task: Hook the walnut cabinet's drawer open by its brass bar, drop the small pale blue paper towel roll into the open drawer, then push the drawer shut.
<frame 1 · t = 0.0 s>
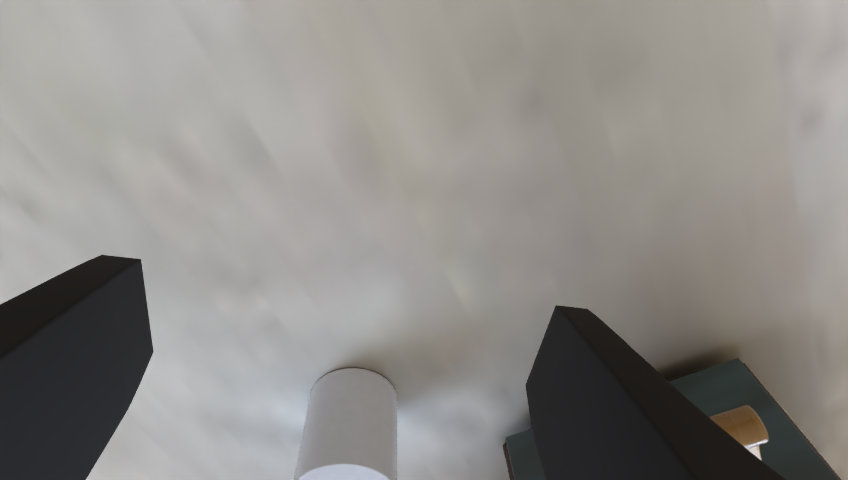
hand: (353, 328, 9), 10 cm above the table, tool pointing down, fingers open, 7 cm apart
paper towel roll: (353, 399, 24), on the table
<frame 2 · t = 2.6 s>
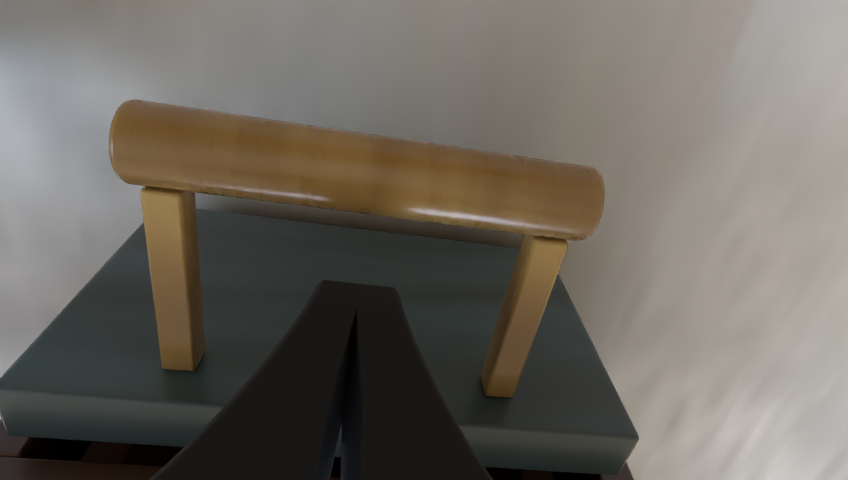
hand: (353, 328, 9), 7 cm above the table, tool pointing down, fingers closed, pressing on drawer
cabinet: (340, 410, 20), on the table
drawer: (339, 422, 14), point 4 cm above the table, slide at 0.4 cm, touching gripper
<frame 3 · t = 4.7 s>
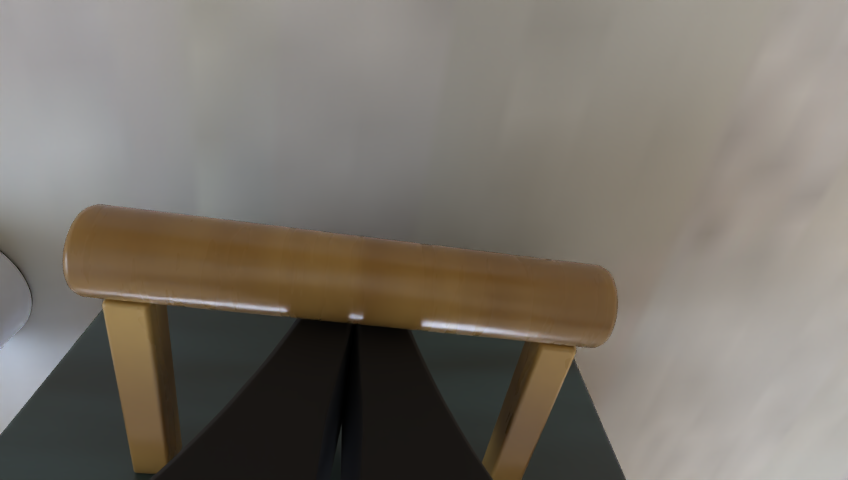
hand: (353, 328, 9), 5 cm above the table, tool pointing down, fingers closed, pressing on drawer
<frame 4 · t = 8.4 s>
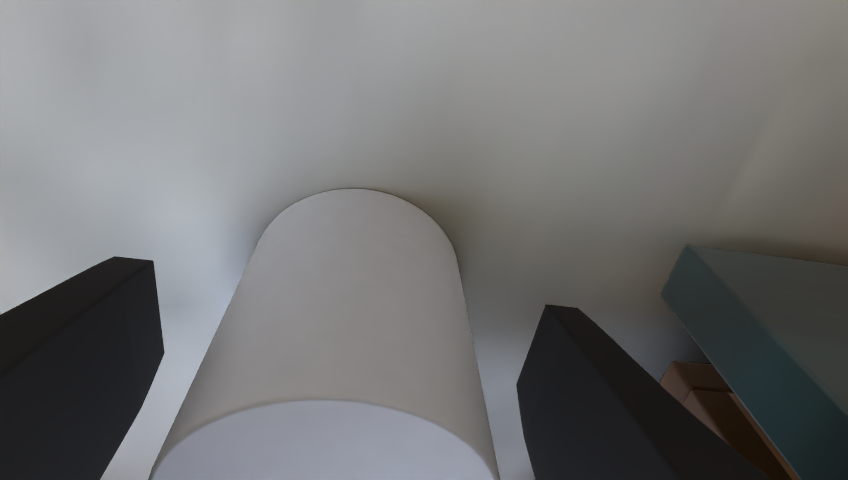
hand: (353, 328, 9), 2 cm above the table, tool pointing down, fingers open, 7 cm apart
paper towel roll: (357, 280, 10), on the table
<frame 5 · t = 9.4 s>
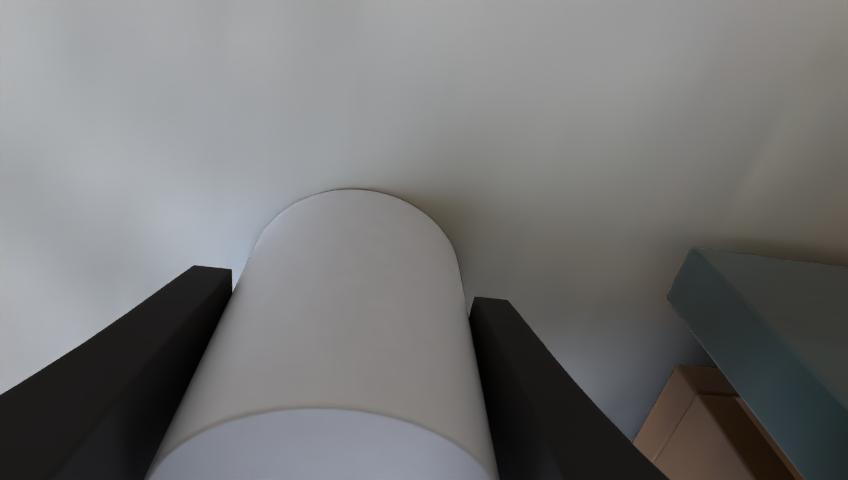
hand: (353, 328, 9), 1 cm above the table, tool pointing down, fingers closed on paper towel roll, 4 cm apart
paper towel roll: (356, 282, 10), on the table, touching gripper
when the fingers open (6 cm above the table, at t = 13.4 s): paper towel roll drops 3 cm, resting on drawer.
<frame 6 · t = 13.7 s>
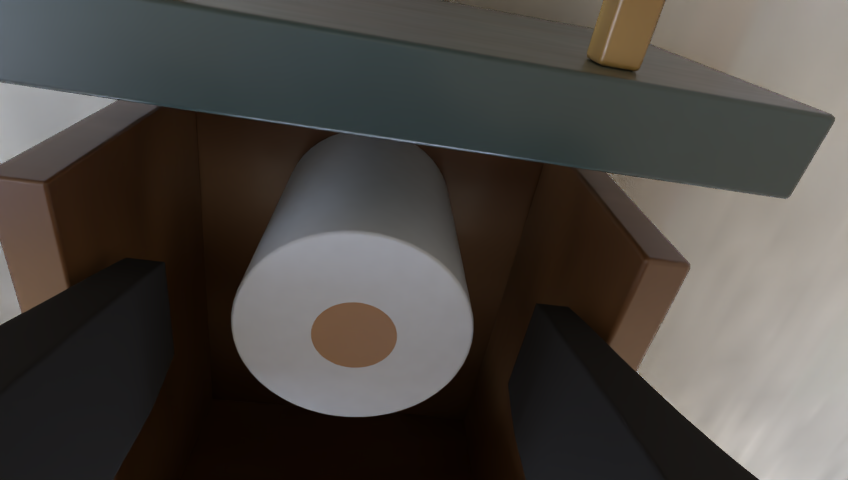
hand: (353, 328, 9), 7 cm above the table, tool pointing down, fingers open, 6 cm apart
paper towel roll: (368, 207, 13), point 2 cm above the table, touching drawer
drawer: (366, 227, 11), point 4 cm above the table, slide at 7.8 cm, touching paper towel roll
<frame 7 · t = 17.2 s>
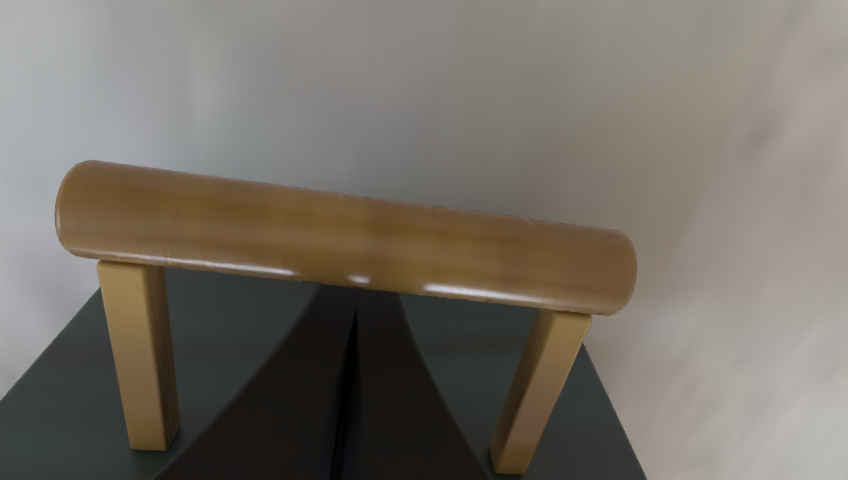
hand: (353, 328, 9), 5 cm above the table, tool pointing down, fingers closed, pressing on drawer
drawer: (333, 477, 13), point 4 cm above the table, slide at 5.3 cm, touching gripper, paper towel roll
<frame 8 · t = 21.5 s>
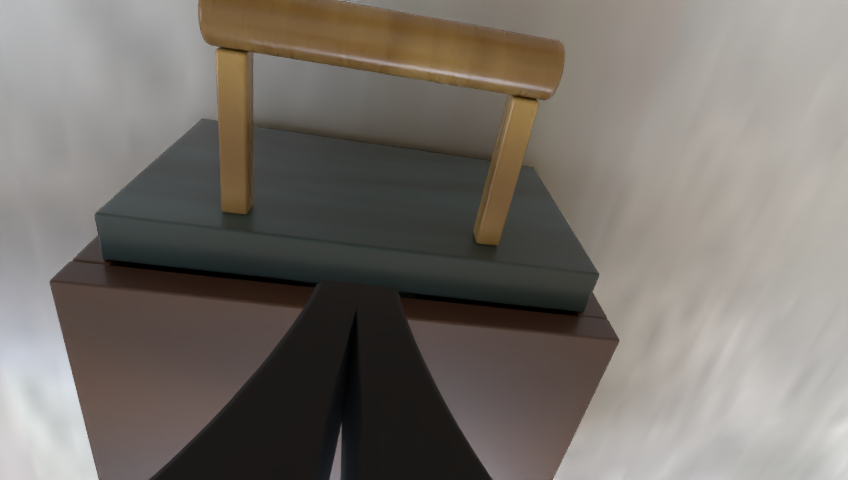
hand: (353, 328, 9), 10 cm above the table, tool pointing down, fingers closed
cabinet: (352, 318, 22), on the table
drawer: (354, 304, 16), point 4 cm above the table, slide at 0.0 cm, touching cabinet, paper towel roll
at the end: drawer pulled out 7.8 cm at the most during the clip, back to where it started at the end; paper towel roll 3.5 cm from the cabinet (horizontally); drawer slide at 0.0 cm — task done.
